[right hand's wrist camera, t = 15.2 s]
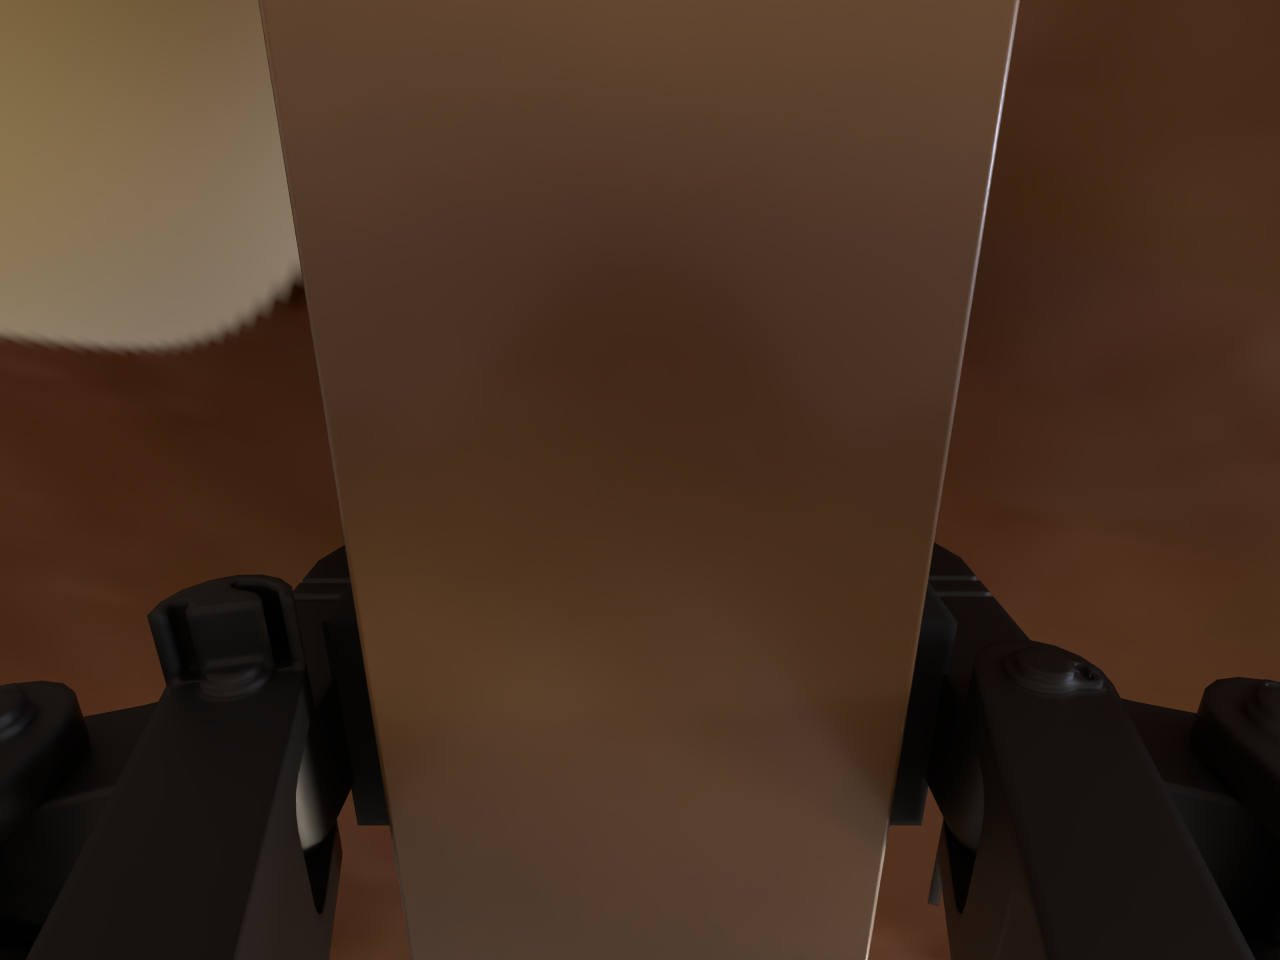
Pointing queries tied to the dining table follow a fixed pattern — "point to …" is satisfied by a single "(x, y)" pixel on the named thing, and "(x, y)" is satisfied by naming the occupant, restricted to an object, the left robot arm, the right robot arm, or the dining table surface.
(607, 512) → the bar
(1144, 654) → the dining table surface
